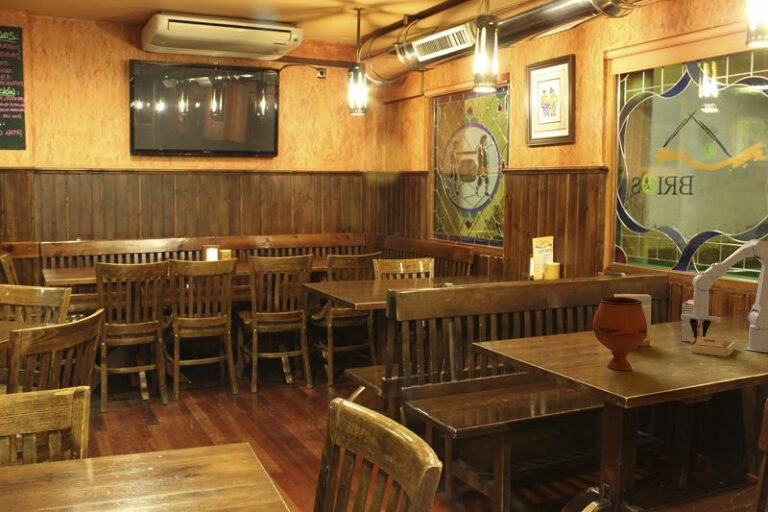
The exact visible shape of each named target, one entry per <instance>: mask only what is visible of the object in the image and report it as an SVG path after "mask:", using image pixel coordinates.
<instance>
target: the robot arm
mask: <svg viewBox="0 0 768 512" xmlns="http://www.w3.org/2000/svg"><path fill="white" fill-rule="evenodd" d="M745 258H756V259H757V260H758V261H759V262H760V264H761V267H760V273H759V277H758V285H757V289H756V296H755V301H754V304H752V306H751V309H750V311H749V313H748V315H747V321H748V322H749V330H748V331H749V332H748V334H749V335H748V346H747V347H746V348H745V351H752V352H760V353H766V354H767V353H768V242H767V241H766V240H759V239H757V238H752V239H750V240H748V241H747V242H745V243H743V244H742V245H741V246H740V247H739V248H738V249H736V250H735V251H734V252H733V253H732V254H730V255H729V256H728V257H727V258H726V259H724V260H723V261H722V262H715V263H712V264H710V266H709V267H708V268H707V269H706V270H704V271H701V272H700V274H698V275H695V276H694V277H693V279H692V280H691V285H692V286H693V297H692V298H693V299H692V300H693V314H682V313H681V314H680V320H682V319H687V320H690V322H689V323H690V325H691V327H692V329H693V333H694V338H695V339H696V338H697V336H698V332H697V328H698V321H700V322H702V324H701V325H702V336H701V337H707V333H708V329H709V328H710V326H711V323H719V324H720V322H721V317H719V316H712V315H709V305H710V303H709V302H710V289H711V288H712V286H713V284H715V283H716V282H717V281H719V280H720V279H721V278H722V277H724V276H725V275H727V271H728V269H730V268H731V267H733V266H734V265H736V264H737V263H739V262H740V261H742V260H743V259H745Z"/></svg>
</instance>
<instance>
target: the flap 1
mask: <svg viewBox="0 0 768 512" xmlns="http://www.w3.org/2000/svg"><path fill="white" fill-rule="evenodd" d="M686 337H687V338H688V339H689V340H690V342H689V343H691V344H692V343H693V344H694V343H695V342H696V341H697V340H696V339H697V338H696V339H695V338H694V333H693V332H692V333H690V334H689V335H688V336H686Z"/></svg>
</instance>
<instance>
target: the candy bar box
mask: <svg viewBox="0 0 768 512" xmlns="http://www.w3.org/2000/svg"><path fill="white" fill-rule="evenodd" d="M681 314H693V299H688V300H687V301H684V302H682V303H681ZM689 322H690V320H687V319H681V331H680V332H681V333H680V335H681V336H680V337H681V339H680V341H681V342H683V343H684V342H685V343H691V342H690V340H689V339H688V338H687V337H686V336H688V335H689V334H690V333H692V332H693V329H692V327H691V325H690V323H689ZM697 332H698V336H700V334H701V321H698V328H697ZM695 341H697V339H696V340H695Z"/></svg>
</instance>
